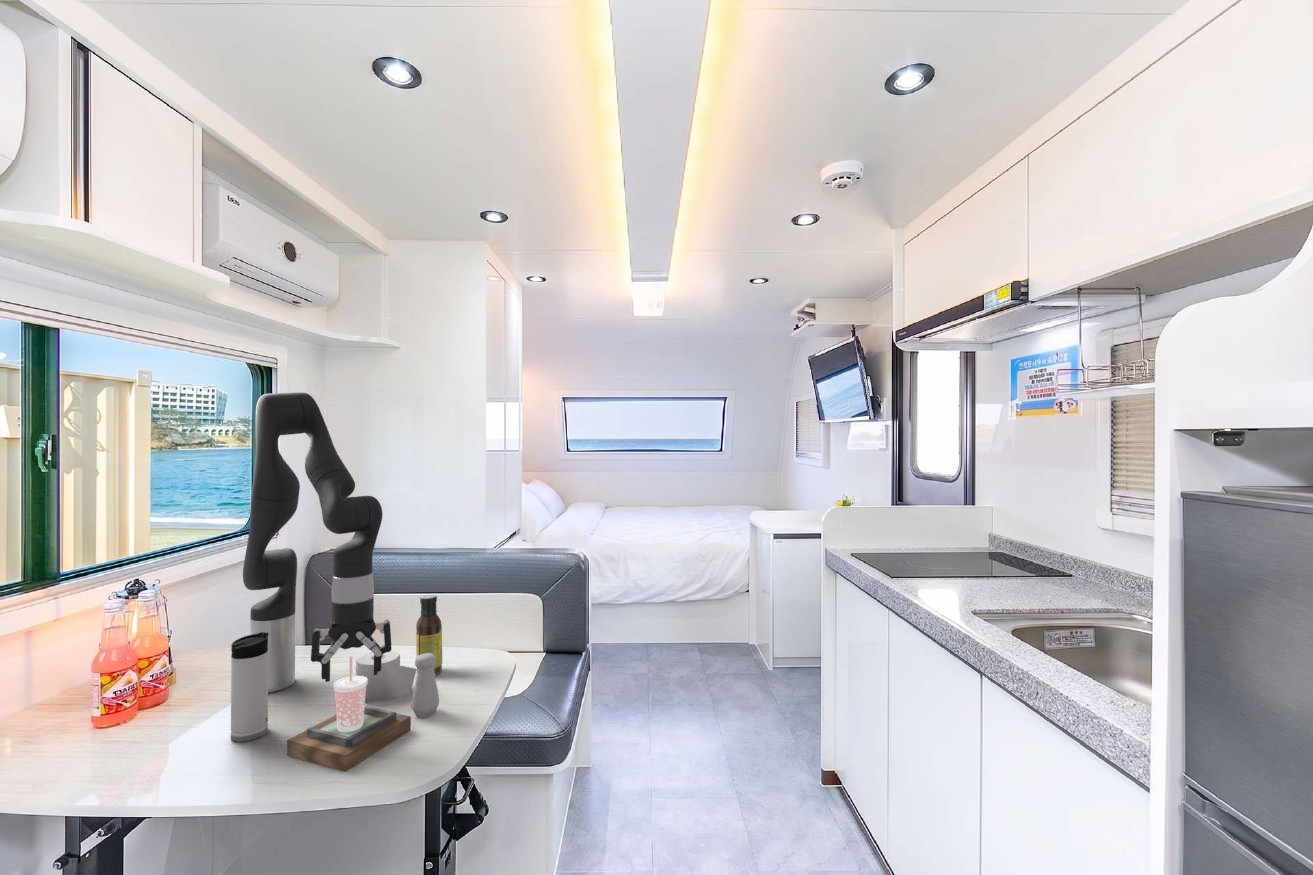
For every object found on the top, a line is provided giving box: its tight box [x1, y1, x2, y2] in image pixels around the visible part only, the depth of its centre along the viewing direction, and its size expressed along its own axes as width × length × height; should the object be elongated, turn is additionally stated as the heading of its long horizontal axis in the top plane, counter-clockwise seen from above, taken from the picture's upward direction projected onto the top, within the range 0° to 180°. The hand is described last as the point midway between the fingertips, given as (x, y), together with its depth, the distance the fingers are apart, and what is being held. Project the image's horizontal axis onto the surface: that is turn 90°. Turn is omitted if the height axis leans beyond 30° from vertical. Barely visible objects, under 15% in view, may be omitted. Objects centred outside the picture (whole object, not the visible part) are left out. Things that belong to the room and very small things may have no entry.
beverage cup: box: [332, 656, 368, 732], centre depth 117 cm, size 6×6×14 cm
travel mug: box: [230, 632, 269, 743], centre depth 120 cm, size 6×7×20 cm
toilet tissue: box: [355, 649, 417, 703], centre depth 141 cm, size 9×13×9 cm
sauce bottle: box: [415, 594, 443, 676], centre depth 152 cm, size 6×6×20 cm
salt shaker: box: [410, 653, 440, 719], centre depth 130 cm, size 6×6×13 cm
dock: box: [286, 705, 412, 772], centre depth 117 cm, size 15×16×4 cm
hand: (352, 677), depth 117 cm, fingers open, 8 cm apart
